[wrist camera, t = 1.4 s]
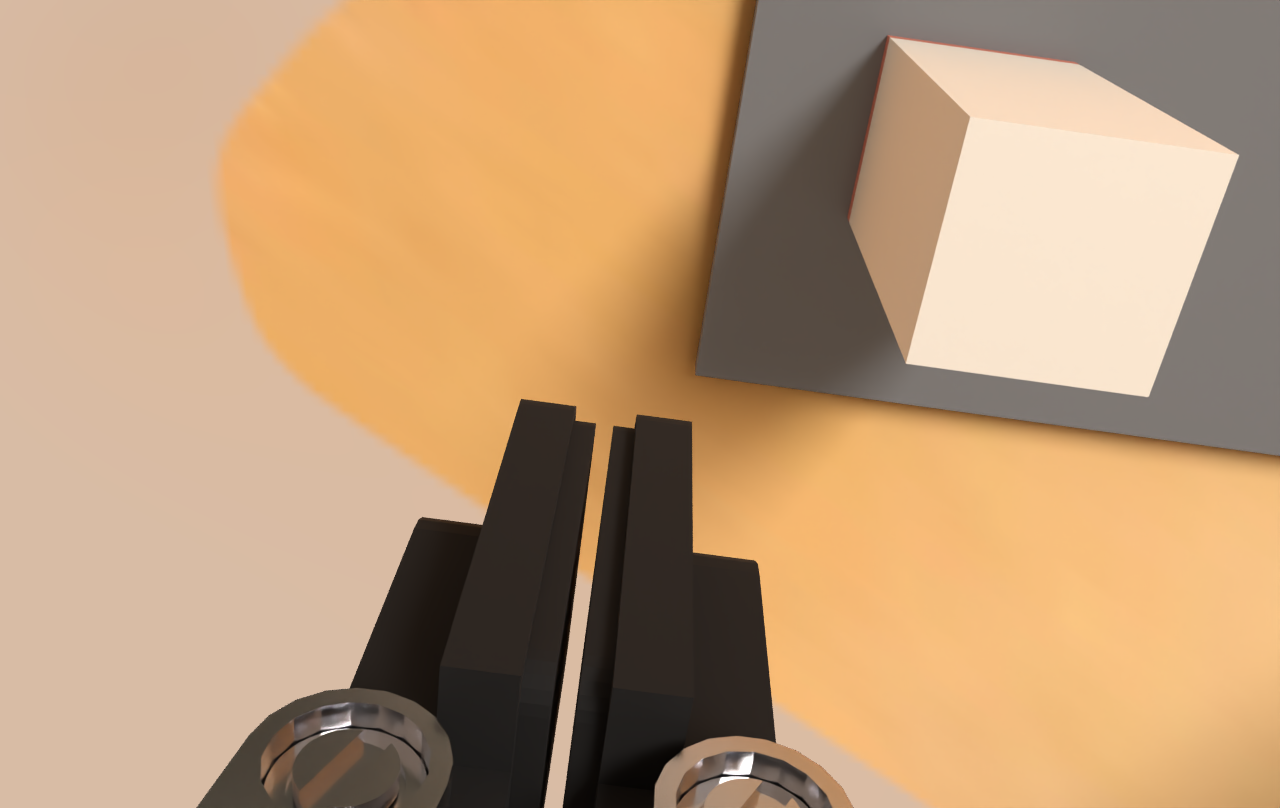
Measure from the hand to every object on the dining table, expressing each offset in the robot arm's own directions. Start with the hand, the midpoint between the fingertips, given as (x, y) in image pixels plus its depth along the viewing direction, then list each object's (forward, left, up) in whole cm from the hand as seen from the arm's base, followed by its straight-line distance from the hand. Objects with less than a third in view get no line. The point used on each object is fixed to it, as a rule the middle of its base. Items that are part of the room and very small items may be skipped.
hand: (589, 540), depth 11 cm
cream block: (-8, 0, -22) cm, 23 cm away
